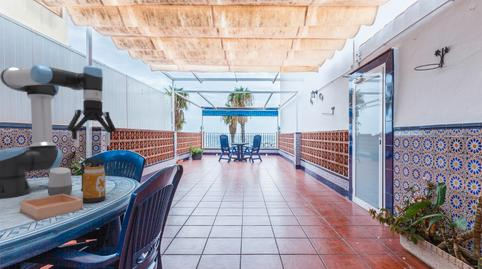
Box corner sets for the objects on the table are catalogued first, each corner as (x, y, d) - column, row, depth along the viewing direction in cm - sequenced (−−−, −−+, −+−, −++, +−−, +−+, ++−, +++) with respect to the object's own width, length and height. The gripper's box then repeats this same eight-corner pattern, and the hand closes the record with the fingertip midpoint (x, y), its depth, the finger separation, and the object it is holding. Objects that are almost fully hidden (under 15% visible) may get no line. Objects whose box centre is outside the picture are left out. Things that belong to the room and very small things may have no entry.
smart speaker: (52, 200, 110) (52, 170, 110) (44, 197, 115) (44, 168, 115) (75, 195, 118) (75, 167, 118) (66, 193, 123) (67, 166, 123)
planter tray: (19, 211, 94) (19, 201, 94) (63, 202, 107) (63, 193, 107) (36, 220, 85) (37, 209, 85) (82, 209, 98) (82, 199, 98)
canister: (94, 204, 105) (95, 159, 105) (73, 202, 107) (74, 158, 107) (109, 198, 114) (110, 157, 113) (90, 197, 116) (90, 156, 116)
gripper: (65, 96, 97) (65, 147, 97) (123, 103, 119) (123, 145, 119) (57, 97, 101) (57, 147, 101) (114, 103, 122) (114, 145, 123)
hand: (92, 146), depth 110 cm, fingers open, 13 cm apart
